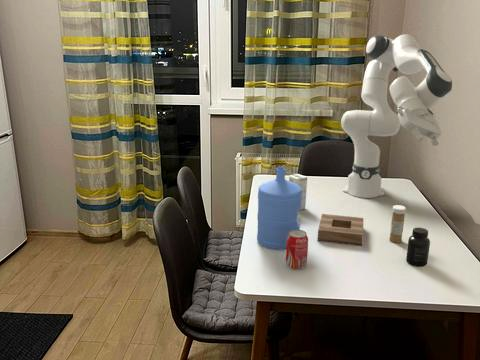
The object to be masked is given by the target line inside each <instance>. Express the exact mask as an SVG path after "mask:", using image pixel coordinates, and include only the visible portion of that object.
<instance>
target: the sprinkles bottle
mask: <svg viewBox="0 0 480 360" xmlns="http://www.w3.org/2000/svg"><path fill="white" fill-rule="evenodd" d="M406 211H407V207H406V206H404V205H399V204H396V205H393V206H392V214H391V215H392V216H391V223H390V224H391V225H390V231H389V232H390V233H389V241H390V242H392V243H394V244H395V243H396V244H399V243H402V238H403V233H404V224H405V217H406V216H405V215H406Z"/></svg>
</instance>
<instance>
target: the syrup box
mask: <svg viewBox="0 0 480 360" xmlns="http://www.w3.org/2000/svg"><path fill="white" fill-rule="evenodd" d="M288 177H289V179H288V181H290V182H292V183H294V184H297V185H298V186H300V187H301V189H302V200H301V208H300V209H299V210H298V211H300V210H303V209H306V207H307V206H306V205H307V203H306V202H307V189H308V176H306V175H302V174H299V173H294V174H291V175H289V176H288Z"/></svg>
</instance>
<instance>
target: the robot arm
mask: <svg viewBox="0 0 480 360" xmlns="http://www.w3.org/2000/svg"><path fill="white" fill-rule="evenodd" d="M365 46H366V47H365V54H366V56H367V57H369V58H370V59H372V60H371V61H369V62H368V64H367V65H366V69H365V71H364V76H363V80H362V88H361V95H360V97H361V99H362V102H363V103H365V105H367V106H369V107H371V108H372V109H373V110H366V109H363V110H362V109H354V110H353V109H352V110H347V111H346V112H344V113H343V115H342V116H341V120H340V122H341V123H340V126H341V129H343V131H344V132H345V133H346V134H347V135H348V136H349V137H350V139H351V140H352V143H353V146H354V161H353V164H352V172H351V173H350V174H348V175H347V176H348V177H347V179H348V182H347V184H346V185H345V187H343V191H342V192H344V193H346V194H347V193H348V194H350V195H351V196H353V197H358V198H362V199H363V198H366V199H369V198H372V199H373V198H376V197H380V196H385V192H384V191H385V190H383V188H382V177H381V175H380V174H379V173H380V164H379V163H380V156H381V149H380V147H379V145H377V144H376V143H375V142H372V141H371V139H369V138H368V136H373V137H390V136H395V135H396V134H398V132H399V131H400V128H401V127H402V128H403V129H405V130H407V131H409V132H411V133H412V134H413V135H414V136H415V138H416V140H418V141H422V140H423V139H424V138H425V137H426V138H429V139H430V140H431V144H432V146H433V147H437V146H438V145H439V144H440V142H439V141H438V140H439V139H438V138H440V137H441V136H442V129H441V128H440V125H439V123H438V122H437V120H436V119H435V118H434V117H436V116H435V113H434V111H431V109H432V108H433V107H434V106H436V104H437V103H438V102H440V101H441V100H442V99H443V98H444V97H445V96H446V95H447V94H449V93H450V92H452V88H453V81H452V78H451V77H450V76H449V75H448V73H446V71H444V69H443V68H442V66H441V65H440V64H439V63H438V61H437V60H436V59H435V57H434V56H433V55H432V54H431V52H430V51H428V50H426V49H422V48H420V46H419V44H418V42H417V41H416V39H415V38H414V37H413V36H412V35H411V34H407V33H404V34H400V35H398V36H397V37H395V39H392V38H390V37H387V36H384V35H381V34H380V35H378V34H377V35H376V34H375V35H373V36H372V37H370V38H369V40H368V41H367V43H366V45H365ZM422 70H425V72H426V75H425V77H424V78H423V80H421V82H420V83H419V84H418V85H417V86H414V85H413V83H412V81H411V80H410V79H409V78H408V77H407V76H405V75H413V74H414V75H415V74H417V73H419V72H421V71H422ZM391 71H393V72H398V71H399V72H400V73H401V74H404V75H402V76H398V77H397V78H395V79H394V80H393V81H392V82H391V84H390V85H389V75H390V72H391ZM388 86H389V93H390V97H391V98H392V101H393V103H394V104H395V105H396V107H397V108H396V110H397V112H398V113H397V114H396V112H395V111H393V110H392V109H391V106H390V105H389V103H388Z"/></svg>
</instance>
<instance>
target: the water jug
mask: <svg viewBox="0 0 480 360" xmlns="http://www.w3.org/2000/svg"><path fill="white" fill-rule="evenodd" d="M275 169H276V172H275V175H276V177H275V179H272V180H269V181H265V182H264V183H261V184H260V185H259V186H258V191H257V203H258V204H257V233H256V240H257V243H258V244H260V246H262V247H264V248H266V249H270V250H277V251H284V250H285V251H286V242H287V236H288V235H289V232H290V231H291V230H301V225H300V222H299V220H298V212H299V211H300V210H299V209H300V208H301V200H302V189H301V187H300V186H298V185H297V184H294V183H292V182H290V181H289V180H288V179H286V167H276V168H275Z"/></svg>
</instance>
